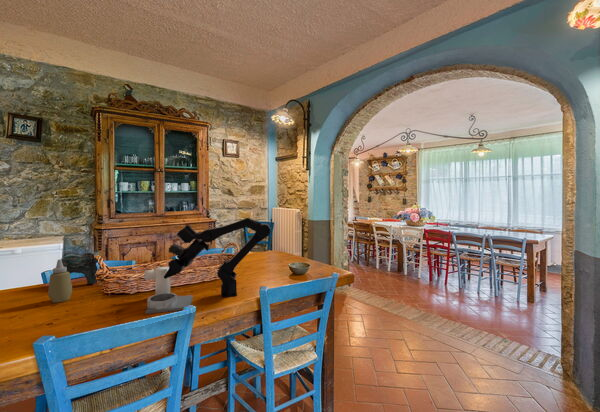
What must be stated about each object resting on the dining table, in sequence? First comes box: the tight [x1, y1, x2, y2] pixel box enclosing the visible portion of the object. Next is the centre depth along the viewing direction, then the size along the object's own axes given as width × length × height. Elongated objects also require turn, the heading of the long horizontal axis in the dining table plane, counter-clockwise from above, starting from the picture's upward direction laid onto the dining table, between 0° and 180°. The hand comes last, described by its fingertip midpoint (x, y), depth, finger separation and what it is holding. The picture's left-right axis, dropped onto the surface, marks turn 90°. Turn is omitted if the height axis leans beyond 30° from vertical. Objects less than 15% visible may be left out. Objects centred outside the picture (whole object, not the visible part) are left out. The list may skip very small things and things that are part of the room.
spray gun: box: [60, 245, 102, 285], centre depth 144 cm, size 20×6×20 cm, turn 93°
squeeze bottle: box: [47, 258, 73, 303], centre depth 122 cm, size 8×8×18 cm
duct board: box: [145, 292, 194, 315], centre depth 117 cm, size 16×14×4 cm
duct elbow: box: [143, 266, 171, 295], centre depth 126 cm, size 10×6×13 cm, turn 106°
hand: (168, 275), depth 127 cm, fingers open, 9 cm apart
